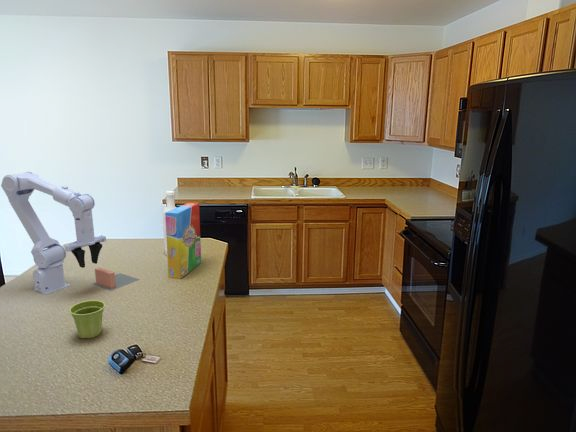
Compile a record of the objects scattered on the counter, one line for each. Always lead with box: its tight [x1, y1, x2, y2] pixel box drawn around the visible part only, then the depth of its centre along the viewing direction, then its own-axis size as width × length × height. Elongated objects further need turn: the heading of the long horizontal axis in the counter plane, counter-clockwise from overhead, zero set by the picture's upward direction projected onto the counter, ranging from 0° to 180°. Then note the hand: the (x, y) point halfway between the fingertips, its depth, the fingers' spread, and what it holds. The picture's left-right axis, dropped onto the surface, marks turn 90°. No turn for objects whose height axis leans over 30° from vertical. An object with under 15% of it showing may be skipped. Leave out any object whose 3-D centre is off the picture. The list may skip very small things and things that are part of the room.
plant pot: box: [68, 299, 106, 339], centre depth 119 cm, size 9×9×9 cm
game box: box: [165, 202, 202, 280], centre depth 168 cm, size 21×6×27 cm, turn 168°
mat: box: [91, 272, 141, 292], centre depth 157 cm, size 13×12×1 cm
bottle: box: [162, 190, 178, 257], centre depth 187 cm, size 8×8×30 cm
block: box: [94, 267, 116, 289], centre depth 152 cm, size 2×9×6 cm, turn 59°
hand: (88, 265), depth 146 cm, fingers open, 4 cm apart
